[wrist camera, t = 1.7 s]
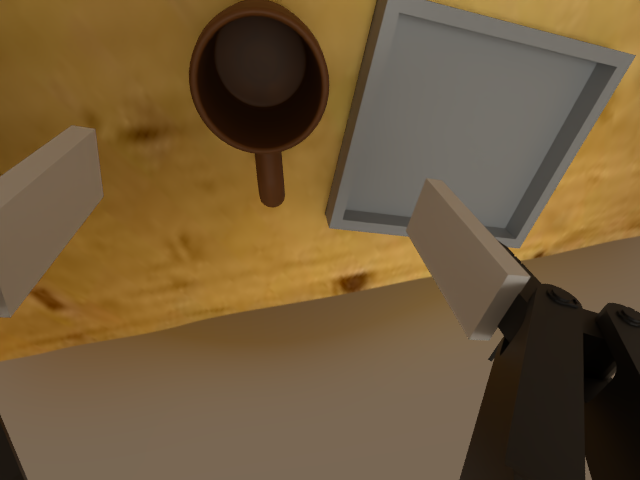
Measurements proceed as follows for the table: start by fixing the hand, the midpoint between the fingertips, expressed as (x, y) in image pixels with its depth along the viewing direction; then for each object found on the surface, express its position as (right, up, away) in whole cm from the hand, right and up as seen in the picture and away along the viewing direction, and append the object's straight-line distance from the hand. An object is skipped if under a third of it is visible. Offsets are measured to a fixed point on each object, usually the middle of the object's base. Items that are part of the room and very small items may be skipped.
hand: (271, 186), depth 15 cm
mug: (-2, +9, +13) cm, 17 cm away
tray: (+14, +7, +17) cm, 23 cm away
